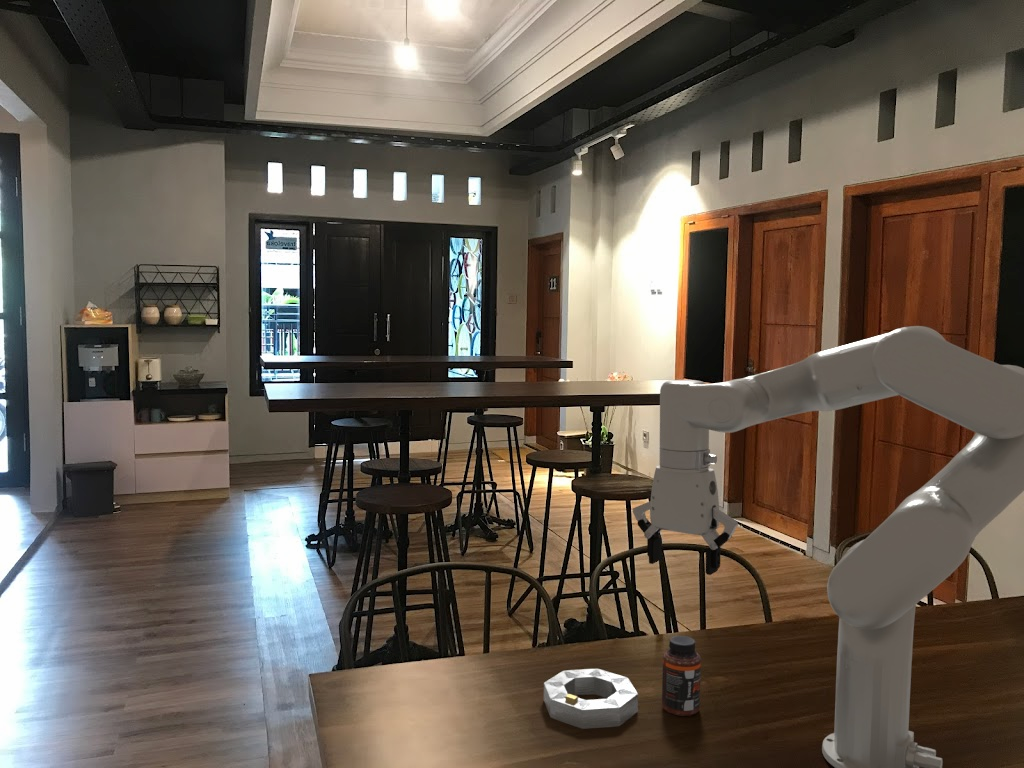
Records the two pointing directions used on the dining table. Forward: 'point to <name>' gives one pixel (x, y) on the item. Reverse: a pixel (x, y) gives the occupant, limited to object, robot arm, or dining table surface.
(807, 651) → the dining table surface
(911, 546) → the robot arm
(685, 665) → the supplement bottle
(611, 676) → the grey octagonal ring
